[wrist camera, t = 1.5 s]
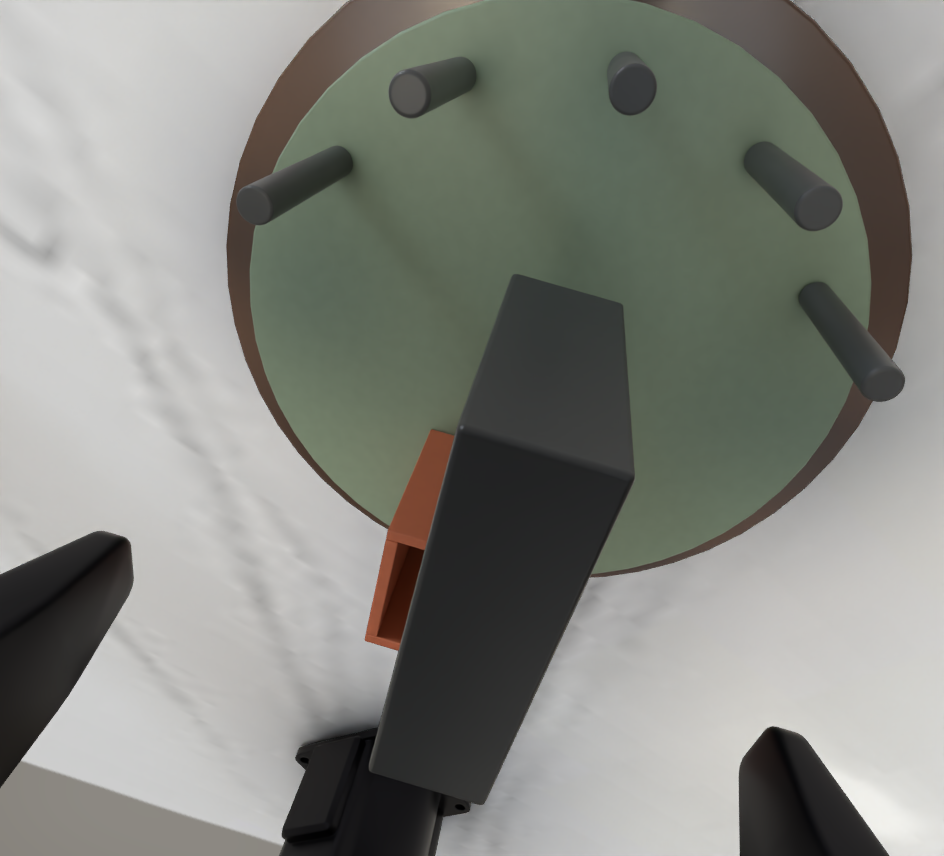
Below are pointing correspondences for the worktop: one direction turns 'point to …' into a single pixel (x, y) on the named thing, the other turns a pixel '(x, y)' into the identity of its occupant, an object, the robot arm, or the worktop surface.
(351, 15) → the turntable base
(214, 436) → the worktop surface
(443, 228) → the drying rack
